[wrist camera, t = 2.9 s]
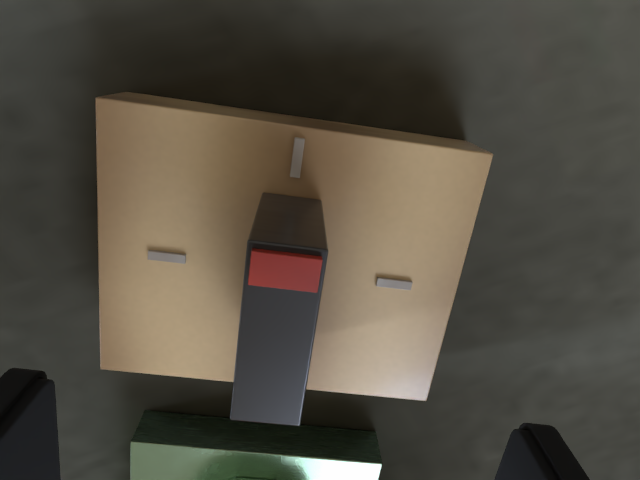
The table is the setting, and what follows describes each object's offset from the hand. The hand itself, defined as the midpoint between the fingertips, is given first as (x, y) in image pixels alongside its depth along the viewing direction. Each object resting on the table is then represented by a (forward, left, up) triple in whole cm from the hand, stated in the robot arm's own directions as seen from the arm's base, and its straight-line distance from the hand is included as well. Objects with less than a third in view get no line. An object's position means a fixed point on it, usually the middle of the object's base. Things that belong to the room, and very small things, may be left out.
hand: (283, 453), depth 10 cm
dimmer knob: (0, 0, -9) cm, 9 cm away
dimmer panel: (0, 0, -12) cm, 12 cm away
